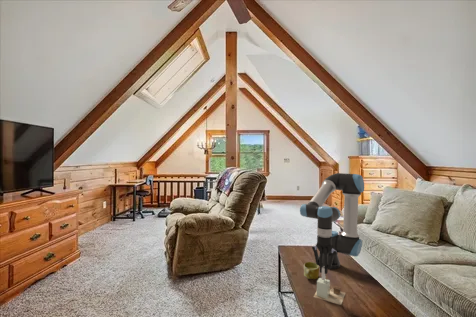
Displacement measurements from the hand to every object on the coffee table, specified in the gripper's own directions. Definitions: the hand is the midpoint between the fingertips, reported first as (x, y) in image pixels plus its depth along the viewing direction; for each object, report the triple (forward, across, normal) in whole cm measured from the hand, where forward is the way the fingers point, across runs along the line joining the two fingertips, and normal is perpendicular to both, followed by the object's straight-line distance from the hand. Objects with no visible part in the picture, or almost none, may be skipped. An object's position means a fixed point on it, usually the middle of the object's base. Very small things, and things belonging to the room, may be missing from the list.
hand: (323, 278), depth 140 cm
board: (+10, +3, +2) cm, 10 cm away
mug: (+10, -12, +17) cm, 23 cm away
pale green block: (+9, 0, 0) cm, 9 cm away
